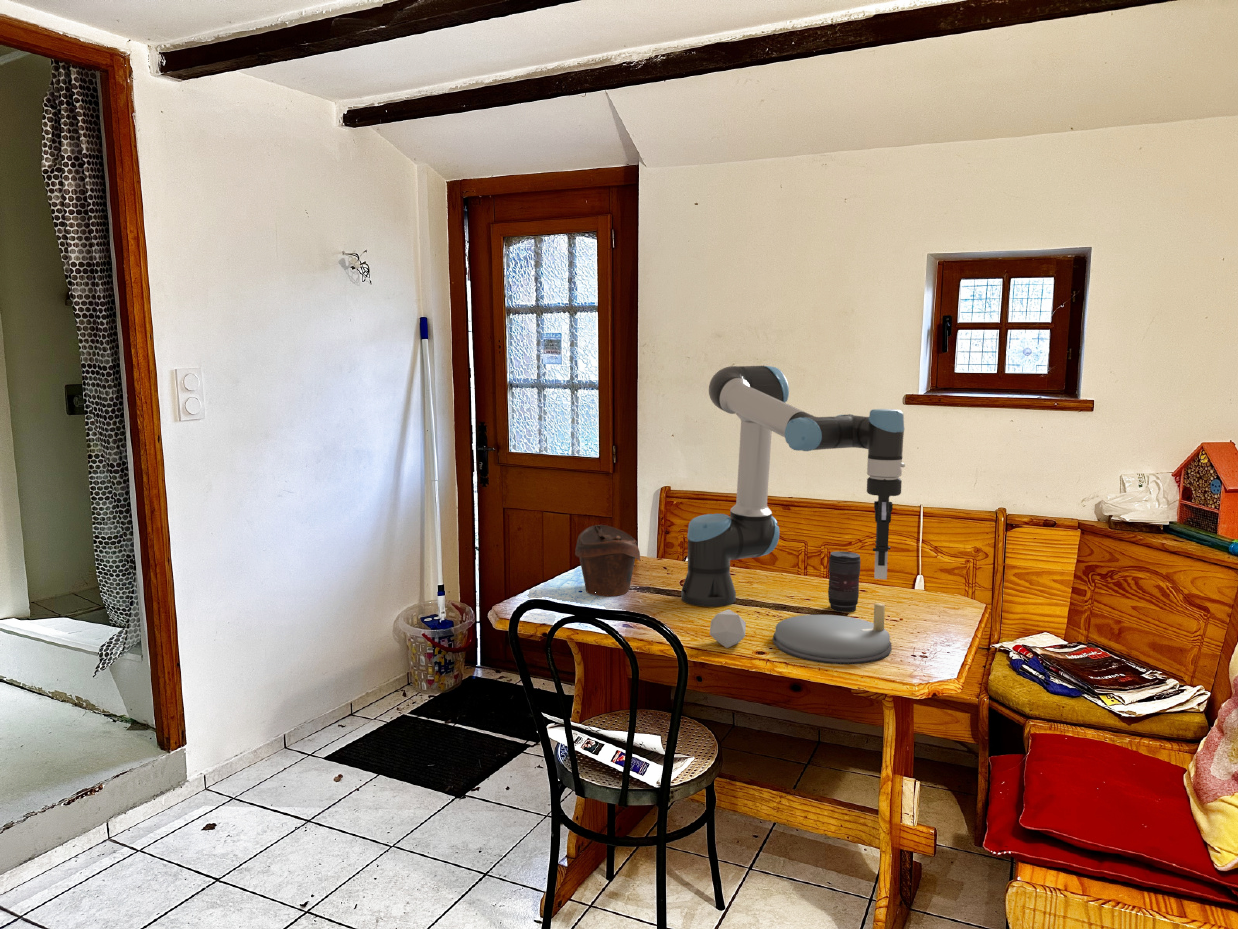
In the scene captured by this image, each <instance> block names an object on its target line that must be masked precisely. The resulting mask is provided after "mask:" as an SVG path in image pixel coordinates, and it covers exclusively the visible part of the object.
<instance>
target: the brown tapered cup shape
mask: <svg viewBox="0 0 1238 929" xmlns="http://www.w3.org/2000/svg"><path fill="white" fill-rule="evenodd" d="M577 536H578V537H577V540H576V541H577V542H576V546H575V549H574V551H575V552H574V555H575V557H577V558H579V562H580V563H579V564H580V567H581V572H582V573H581V574H582V576H583V582H584V587H585V591H586V593H587V594H588V595H592V596H597V597H618V596H622V595H625V594H627V593H628V592H629V590H630V588H631V582H632V578H633V572H634V568H635V567H636V565H635V562H636V560H637V561H639V562H641V554H640V549H639V546H638V542H637V540H636V539H635V538H634V537H633V536H631V535H630V534H628V533H627V532H625V531H623V530H621V529H619V528H616V527H613V526H610V525H605V524H595V525H591V526H589V527H586V528H585V529H583V530H582V531H581V533H579V534H578V535H577ZM595 592H596V593H595Z"/></svg>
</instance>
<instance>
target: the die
mask: <svg viewBox="0 0 1238 929" xmlns="http://www.w3.org/2000/svg"><path fill="white" fill-rule="evenodd" d="M746 624H747V622H746V621H745V620H744V619H743V618H742V617H741V615H740V614H738V613H736V612H734V611H733V610H731V609H726V610H724V611H720V612H718V613H716V614H715V616H714V617H713V618H712V619H711V620H710V627H709V636H710V637H712V638H713V640H715V641H716V642H717V643H719V644H720V645H721V646H723V647H725V649H728V648H731V647H733V646H736V645H737V644H739V643H740V642H741V641H743V639H744V638H745V637H746V626H747V625H746Z"/></svg>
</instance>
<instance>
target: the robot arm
mask: <svg viewBox="0 0 1238 929" xmlns="http://www.w3.org/2000/svg"><path fill="white" fill-rule="evenodd" d="M789 395H790V387H789V382H788V380H787V377H786V376H785V374H784V373H783V372H782V370H781V369H779V368H778V367H775V366H770V365H740V366H739V365H734V366H733V365H730V366H726V367H723V368H722V369H720V370H718V371H717V372H715V374H714V375H713V376H712V377H711V379H710V382H709V386H708V396H709V398H710V401H711V403H713V405H714V406H716V407H717V408H718V409H720V410H721V411H723V412H725V413H727V414H729V415H730V414H731V415H734V414H735V415H736V416H737V417H738V419H740V431H739V432H740V434H739V449H738V451H739V452H738V470H737V485H736V501H735V502H736V503H735V504H734V505H733V506H732V507H731V508H730V513H729V515H728V514H725V513H713V514H712V513H707V514H702V515H698V516H696V517H693V518H692V519H691V520H690V522H689V523H688V528H687V535H686V536H687V573H686V576H685V578H684V582H683V585H682V587H681V588H682V589H681V591H680V592H681V593H680V594H681V595H680V596H681V598H680V599H681V600H682V602H684V603H686V604H689V605H692V606H696V607H712V608H713V607H715V608H716V607H724V606H728V605H732V604H734V603H735V602H736V601H737V600H736V599H737V592H736V588H735V585H734V582H733V579H732V576H731V561H734V560H741V559H742V560H743V559H747V558H748V559H749V558H760V557H763V556H766V555H769V554H771V552H773V551H774V550H775V548H776V547H777V546H778V543H779V540H780V527H779V525H778V521H777V519H776V518H775V517H774V516H773V512H772V510H771V509H770V508H769V506H768V494H769V479H770V465H771V464H770V463H771V462H770V461H771V449H772V448H771V446H772V445H771V444H772V433H775V434H777V435H780V436H781V437H784V439H785V442H786V444H787V445H788V447H789V448H790V449H791V450H793V451H799V452H800V451H803V452H810V451H819V450H833V449H835V450H836V449H847V448H848V449H849V448H851V449H852V448H856V449H865V450H867V451H868V452H867V466H866V467H867V468H866V474H867V475H868V477H867V478H866V493H867V494H868V495H871V496H877V497H878V498H877V500H875V501H874V502H873V507H874V508H873V509H874V521H875V522H876V525H875V526H876V532H875V535H876V536H875V541H874V543H875V547H872V552H874V575H873V576H874V579H875V580H878V579H879V580H887V579H888V557H889V554H888V553H889V550H891V546H889V534H890V533H889V532H890V524H891V521H892V512H893V505H894V503H893V502H892V501H890V497H896V496H897V497H898V496H900V495H901V494H902V480H903V479H901V478H900V477H901V476H902V472H903V471H902V469H903V468H905V467H906V465H905V463H904V462H903V449H904V448H903V447H904V436H905V435H904V434H905V418H904V413H903V411H902V410H900V409H893V408H891V409H889V408H873V409H871V410H870V411H869V416H863V415H854V414H838V415H836V416H814V415H813V414H810V413H808V412H806V411H804V410H802V409H799V408H797V407H796V406H794V405H793V406H792V405H791V404H789V403H787V402H788V400H789V397H790V396H789Z"/></svg>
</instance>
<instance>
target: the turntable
mask: <svg viewBox="0 0 1238 929" xmlns="http://www.w3.org/2000/svg"><path fill="white" fill-rule="evenodd" d="M885 610H886V605H885V603H880V602H879V603H878V602H876V603H875V602H874V605H873V622H872V621H867V620H865V619H861V618H856V617H851V616H844V615H834V614H805V615H795V616H791V617H788V618H784V619H783V620H781V621H779V622H778V623H777V624H776V625H775V631H774V633H775V637H776V640H777V641H778V642H779V643H780V644H781V645H783V646H784V647H786V648H788V649H791V650H793V651H796V652H799V653H803V654H807V655H811V656H817V657H824V658H835V659H855V658H865V657H871V656H875V655H878V654H881V653H883V652H885V651H886V650H887V649H888V648H889V642H891V641H890V640H891V639H890V638H891V636H890V633H889V632H888V631H887V630H886V628H885V614H886V613H885V612H886V611H885Z"/></svg>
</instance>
